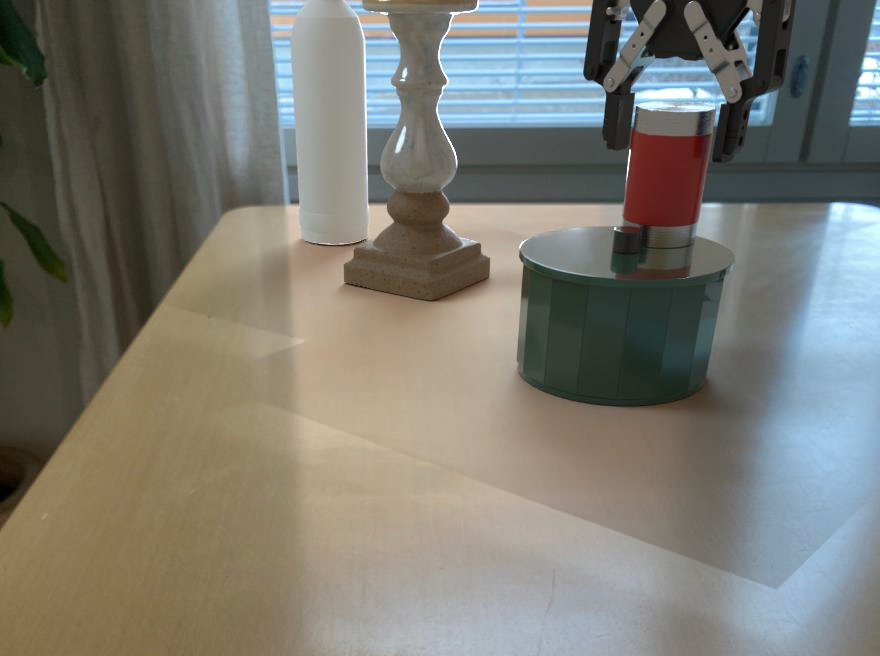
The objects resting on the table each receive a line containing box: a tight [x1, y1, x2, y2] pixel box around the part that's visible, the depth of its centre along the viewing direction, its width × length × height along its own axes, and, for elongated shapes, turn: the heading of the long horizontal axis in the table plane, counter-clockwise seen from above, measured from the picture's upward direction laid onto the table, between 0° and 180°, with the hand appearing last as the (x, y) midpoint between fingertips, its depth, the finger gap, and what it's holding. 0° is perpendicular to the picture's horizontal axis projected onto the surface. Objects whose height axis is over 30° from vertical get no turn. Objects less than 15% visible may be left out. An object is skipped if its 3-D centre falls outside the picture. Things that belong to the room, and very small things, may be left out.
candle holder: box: [343, 0, 491, 301], centre depth 91 cm, size 11×11×24 cm
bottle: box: [289, 0, 370, 244], centre depth 104 cm, size 8×8×30 cm
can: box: [620, 100, 717, 248], centre depth 72 cm, size 6×6×9 cm
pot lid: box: [518, 225, 736, 289], centre depth 72 cm, size 16×16×3 cm
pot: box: [516, 263, 726, 407], centre depth 75 cm, size 15×15×8 cm
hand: (667, 155), depth 71 cm, fingers open, 8 cm apart
